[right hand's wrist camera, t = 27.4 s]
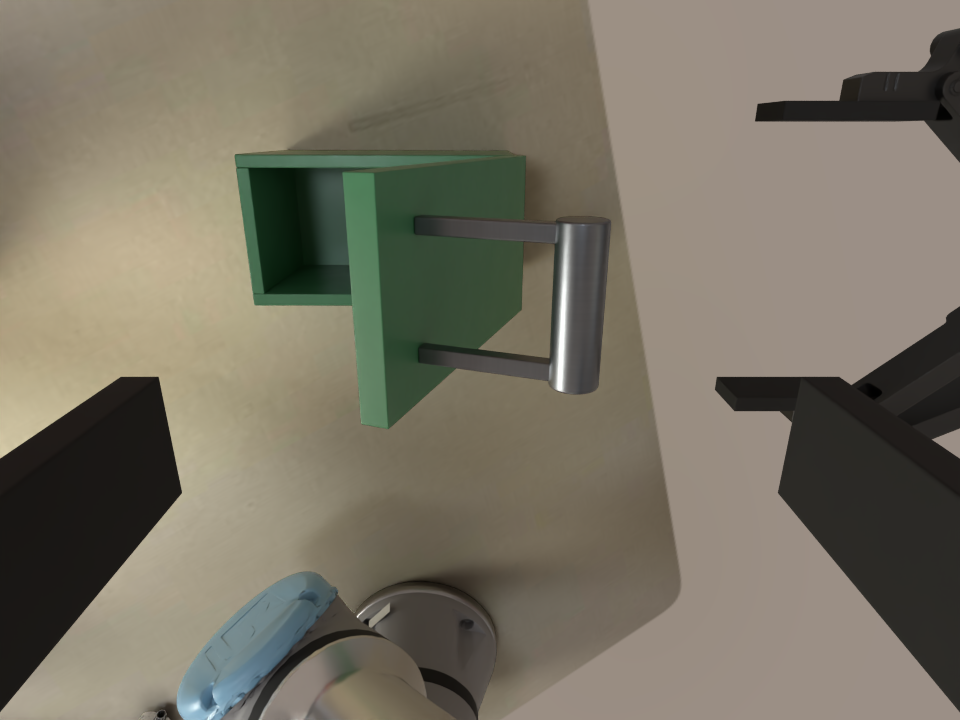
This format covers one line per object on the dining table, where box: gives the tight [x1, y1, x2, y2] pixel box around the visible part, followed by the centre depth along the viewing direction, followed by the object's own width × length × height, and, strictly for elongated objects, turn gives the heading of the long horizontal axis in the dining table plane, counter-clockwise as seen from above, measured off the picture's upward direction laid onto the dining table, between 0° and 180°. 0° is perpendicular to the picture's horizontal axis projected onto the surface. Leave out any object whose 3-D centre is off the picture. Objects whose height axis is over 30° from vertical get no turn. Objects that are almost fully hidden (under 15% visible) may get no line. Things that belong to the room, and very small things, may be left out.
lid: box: [343, 155, 611, 429], centre depth 28 cm, size 18×9×8 cm
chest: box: [235, 150, 513, 306], centre depth 42 cm, size 17×9×10 cm, turn 90°
